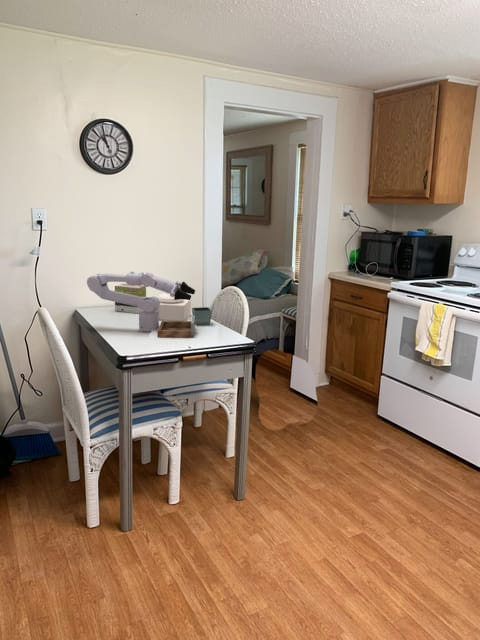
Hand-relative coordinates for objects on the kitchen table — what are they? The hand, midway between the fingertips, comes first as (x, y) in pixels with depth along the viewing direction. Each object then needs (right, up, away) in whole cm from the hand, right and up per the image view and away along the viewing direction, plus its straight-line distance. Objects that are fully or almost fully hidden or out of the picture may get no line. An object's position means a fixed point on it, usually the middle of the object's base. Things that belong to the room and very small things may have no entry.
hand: (192, 295), depth 239 cm
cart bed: (-7, -19, -3) cm, 20 cm away
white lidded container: (-15, -11, +35) cm, 39 cm away
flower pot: (+3, -15, +16) cm, 22 cm away
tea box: (-40, -7, +49) cm, 63 cm away
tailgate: (+1, -18, -3) cm, 18 cm away
